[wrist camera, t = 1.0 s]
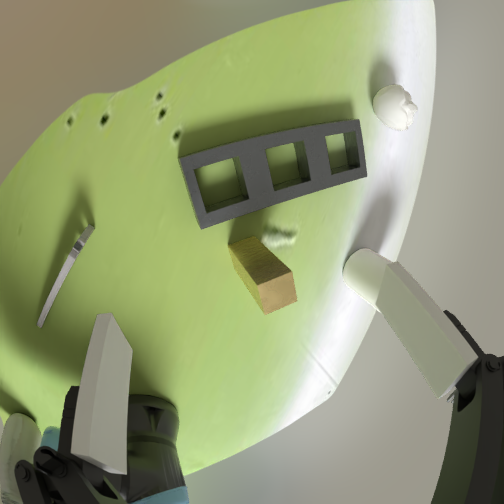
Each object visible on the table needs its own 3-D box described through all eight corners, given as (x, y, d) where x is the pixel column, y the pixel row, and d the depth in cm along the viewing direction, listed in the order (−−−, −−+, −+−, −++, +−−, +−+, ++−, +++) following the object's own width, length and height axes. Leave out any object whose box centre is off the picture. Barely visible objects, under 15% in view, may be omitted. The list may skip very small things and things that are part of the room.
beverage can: (373, 241, 48) (420, 267, 37) (372, 278, 51) (413, 307, 41) (340, 254, 46) (387, 285, 35) (340, 292, 49) (381, 327, 39)
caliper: (90, 222, 31) (77, 237, 25) (96, 226, 31) (85, 242, 26) (37, 323, 32) (25, 347, 26) (42, 326, 32) (31, 351, 27)
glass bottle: (2, 403, 33) (-15, 500, 8) (34, 410, 36) (24, 516, 12) (19, 426, 36) (11, 515, 12) (50, 432, 40) (48, 528, 15)
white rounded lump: (395, 130, 40) (428, 132, 34) (366, 130, 39) (400, 132, 32) (390, 88, 37) (423, 86, 30) (360, 84, 35) (394, 79, 28)
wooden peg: (259, 259, 41) (297, 301, 30) (234, 269, 40) (265, 314, 29) (253, 235, 39) (292, 271, 28) (227, 245, 38) (257, 285, 28)
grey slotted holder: (355, 173, 41) (367, 176, 38) (197, 223, 36) (201, 229, 33) (346, 119, 37) (359, 119, 34) (177, 158, 32) (179, 158, 29)
